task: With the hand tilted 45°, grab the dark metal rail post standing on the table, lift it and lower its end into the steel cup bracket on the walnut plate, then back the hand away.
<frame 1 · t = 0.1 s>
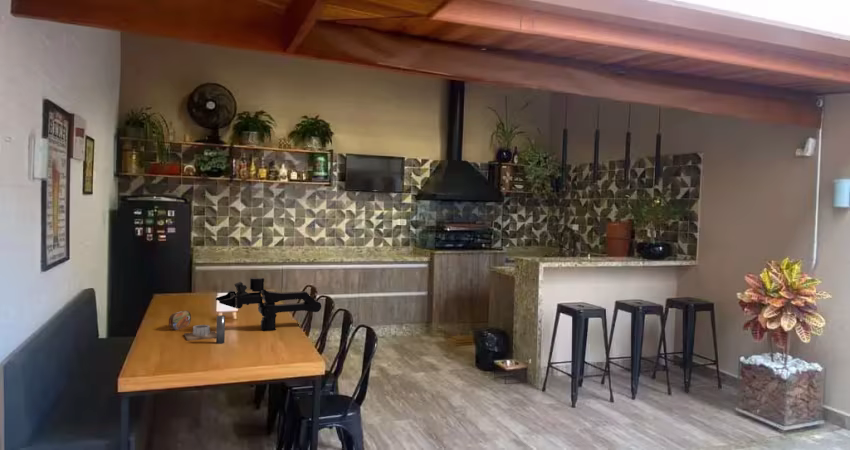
hand: (217, 300, 273), 17 cm above the table, tool horizontal, fingers open, 9 cm apart
tin: (179, 328, 284), on the table
rail post: (220, 342, 256), on the table
bracket plate: (201, 336, 267), on the table
cup bracket: (201, 330, 267), on the bracket plate, point 3 cm above the table
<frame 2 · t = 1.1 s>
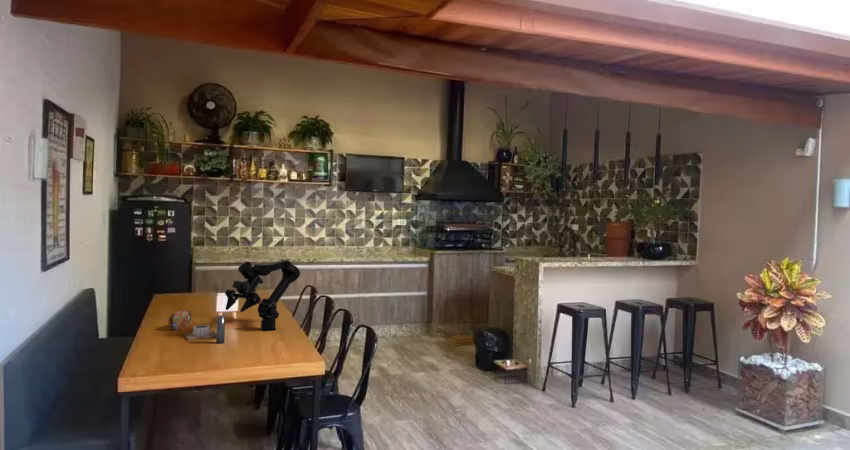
hand: (233, 310, 263), 14 cm above the table, tool tilted 45°, fingers open, 9 cm apart
nothing on the table moved.
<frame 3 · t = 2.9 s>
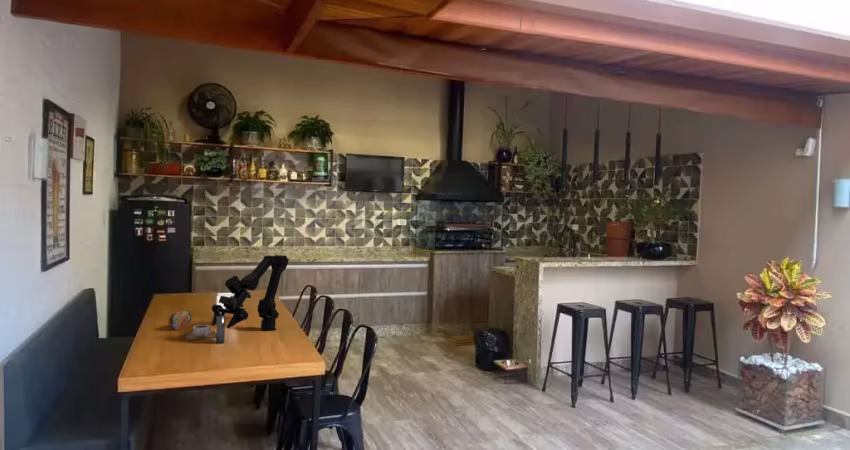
hand: (219, 326, 256), 8 cm above the table, tool tilted 45°, fingers open, 9 cm apart
nothing on the table moved.
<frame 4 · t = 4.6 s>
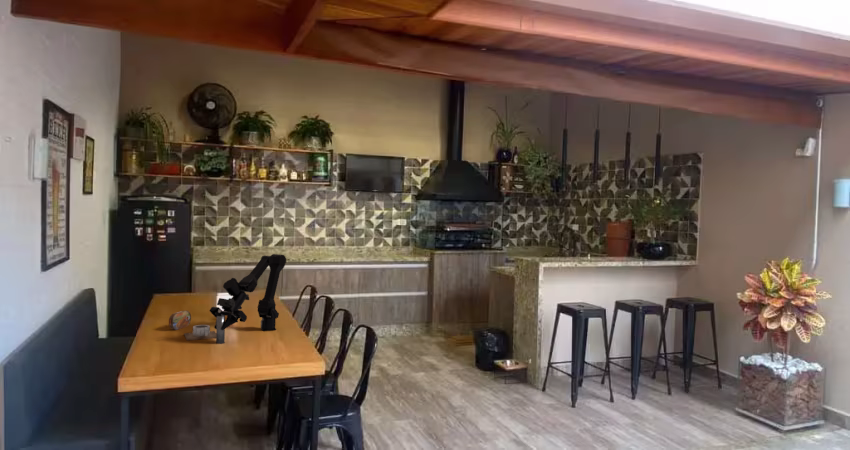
hand: (218, 329, 255), 7 cm above the table, tool tilted 45°, fingers closed on rail post, 4 cm apart
rail post: (220, 342, 256), on the table, touching gripper
everything else where it was.
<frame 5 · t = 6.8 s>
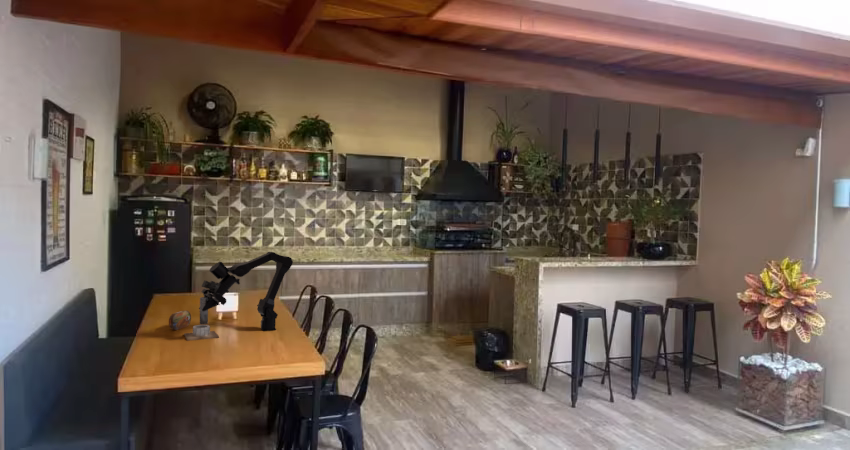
hand: (201, 310, 263), 13 cm above the table, tool tilted 45°, fingers closed on rail post, 4 cm apart
rail post: (203, 323, 264), point 7 cm above the table, touching gripper
everything else where it was.
when the fingers open (8 cm above the table, at t = 9.0 s): rail post stays where it is, resting on bracket plate.
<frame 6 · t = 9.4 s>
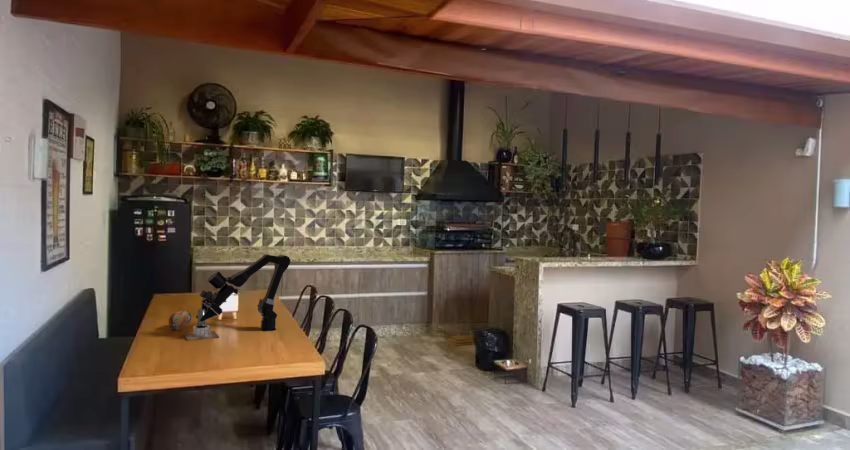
hand: (198, 319, 266), 8 cm above the table, tool tilted 45°, fingers open, 8 cm apart
rail post: (201, 334, 267), point 1 cm above the table, touching bracket plate
everything else where it was.
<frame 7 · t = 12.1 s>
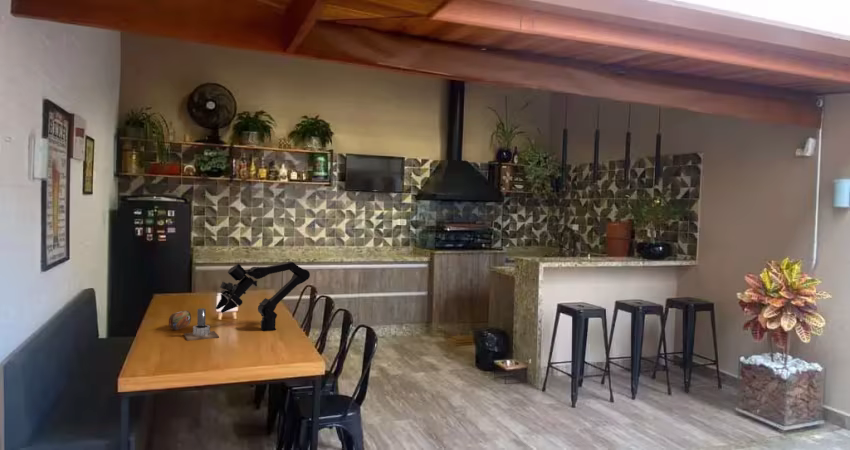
hand: (218, 310, 271), 12 cm above the table, tool tilted 45°, fingers open, 9 cm apart
nothing on the table moved.
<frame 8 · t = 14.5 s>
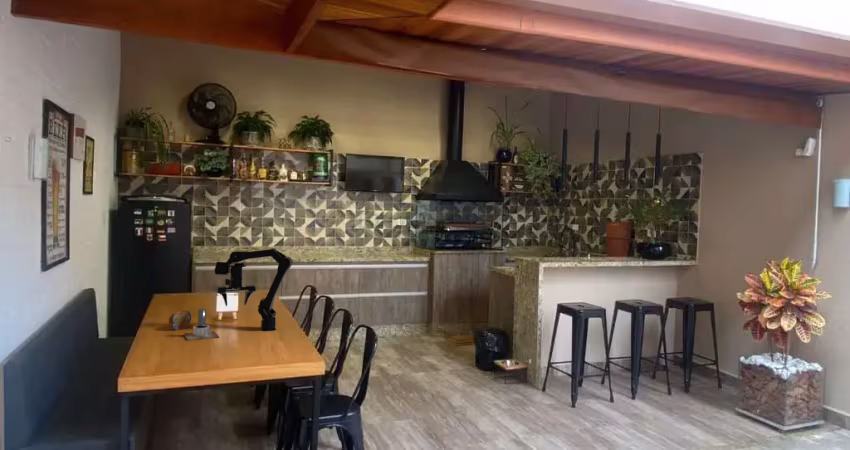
hand: (235, 305, 285), 12 cm above the table, tool pointing down, fingers open, 9 cm apart
nothing on the table moved.
at the end: rail post 0.0 cm off-centre on the cup bracket, point 0.8 cm above the cup bracket's base; rail post tilted 1°; the gripper is holding nothing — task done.
